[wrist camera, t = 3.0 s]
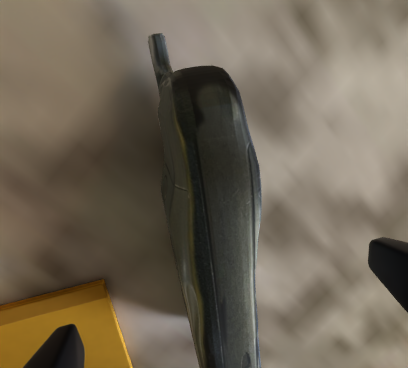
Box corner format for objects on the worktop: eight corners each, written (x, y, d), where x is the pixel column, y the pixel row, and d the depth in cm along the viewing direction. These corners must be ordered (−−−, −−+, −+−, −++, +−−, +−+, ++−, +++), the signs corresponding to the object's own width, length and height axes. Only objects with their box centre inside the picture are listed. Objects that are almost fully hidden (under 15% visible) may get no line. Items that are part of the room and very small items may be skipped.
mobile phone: (278, 404, 12) (257, -7, 6) (211, 429, 12) (125, 5, 6) (238, 316, 17) (206, 29, 11) (189, 330, 16) (128, 38, 11)
